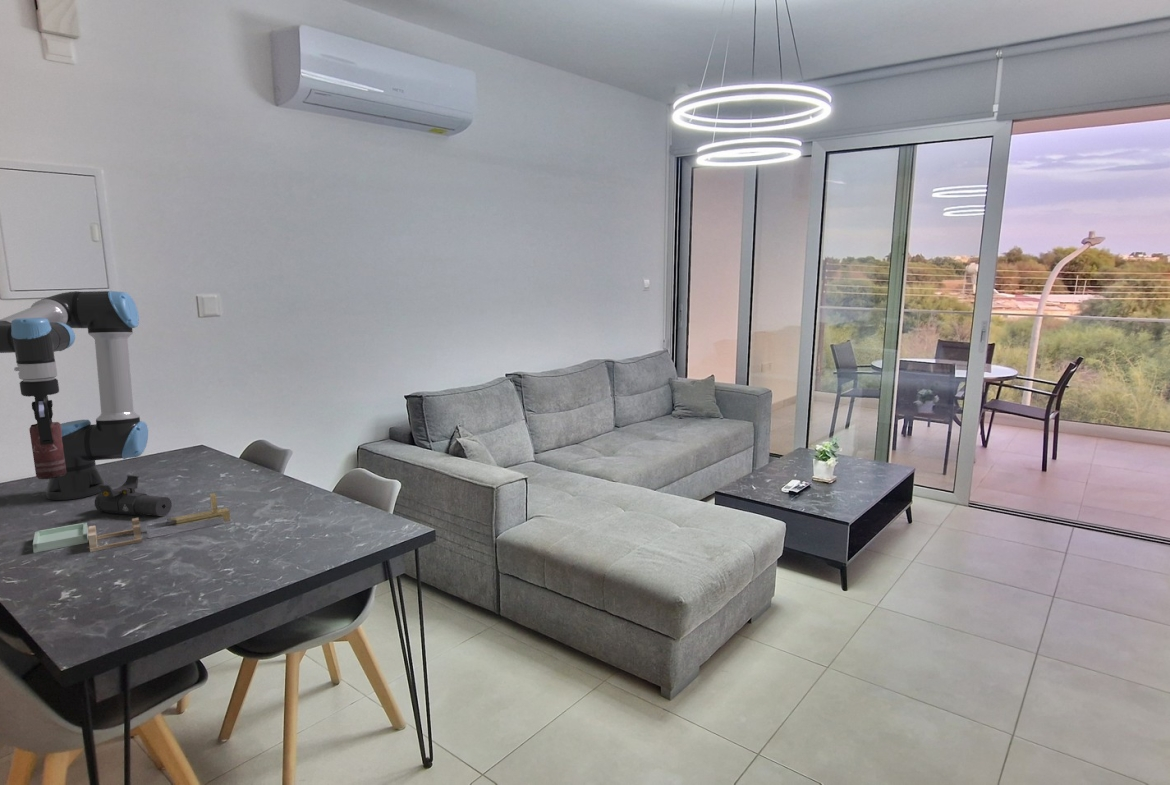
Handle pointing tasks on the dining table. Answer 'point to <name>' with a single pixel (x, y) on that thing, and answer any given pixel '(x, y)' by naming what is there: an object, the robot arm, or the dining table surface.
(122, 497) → the laser sight
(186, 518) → the keeper bolt
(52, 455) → the can
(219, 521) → the keeper guide
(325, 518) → the dining table surface
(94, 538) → the socket
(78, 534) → the pale green shallow tray
